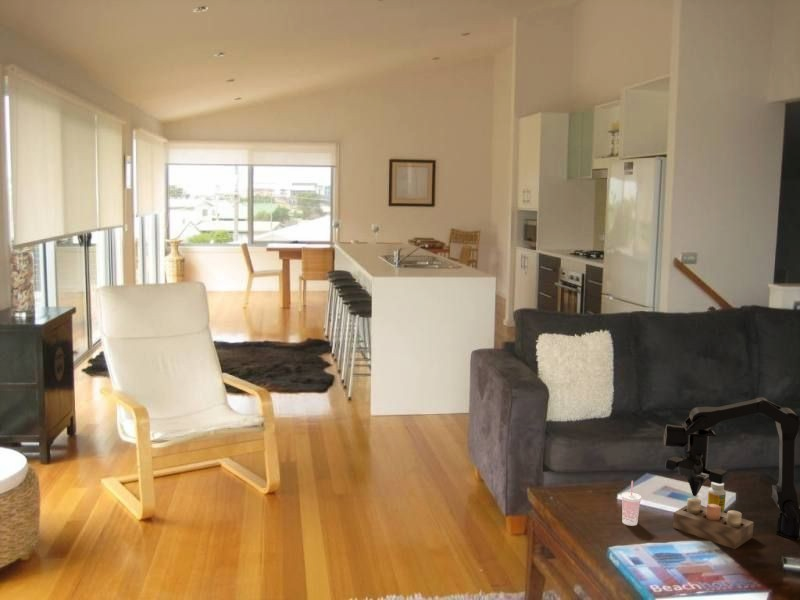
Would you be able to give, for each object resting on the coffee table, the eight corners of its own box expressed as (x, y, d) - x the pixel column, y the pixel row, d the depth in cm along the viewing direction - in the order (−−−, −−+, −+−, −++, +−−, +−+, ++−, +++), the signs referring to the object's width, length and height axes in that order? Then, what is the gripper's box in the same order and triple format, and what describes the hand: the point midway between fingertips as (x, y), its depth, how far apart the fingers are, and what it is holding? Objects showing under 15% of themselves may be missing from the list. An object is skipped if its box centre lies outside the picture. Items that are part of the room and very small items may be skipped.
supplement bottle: (711, 506, 271) (713, 479, 270) (727, 511, 267) (729, 483, 266) (704, 510, 267) (706, 483, 266) (719, 515, 264) (722, 487, 262)
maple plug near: (742, 528, 245) (743, 513, 245) (736, 532, 243) (738, 516, 242) (729, 524, 248) (731, 509, 248) (723, 528, 246) (725, 512, 245)
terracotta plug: (722, 522, 250) (723, 506, 249) (716, 525, 247) (717, 510, 247) (709, 517, 253) (710, 502, 252) (703, 521, 250) (704, 506, 250)
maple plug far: (702, 515, 255) (703, 500, 254) (696, 518, 252) (697, 503, 251) (690, 511, 258) (691, 496, 257) (684, 514, 255) (685, 500, 254)
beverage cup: (640, 527, 254) (643, 485, 251) (620, 525, 255) (623, 483, 253) (638, 519, 260) (641, 478, 257) (619, 517, 261) (621, 476, 259)
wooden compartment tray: (752, 537, 248) (753, 522, 247) (734, 549, 240) (736, 533, 239) (691, 516, 262) (692, 502, 261) (672, 527, 254) (673, 512, 253)
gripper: (657, 446, 253) (654, 493, 255) (714, 462, 239) (711, 511, 242) (675, 438, 260) (672, 484, 263) (731, 453, 247) (728, 502, 249)
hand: (694, 495), depth 254 cm, fingers closed
